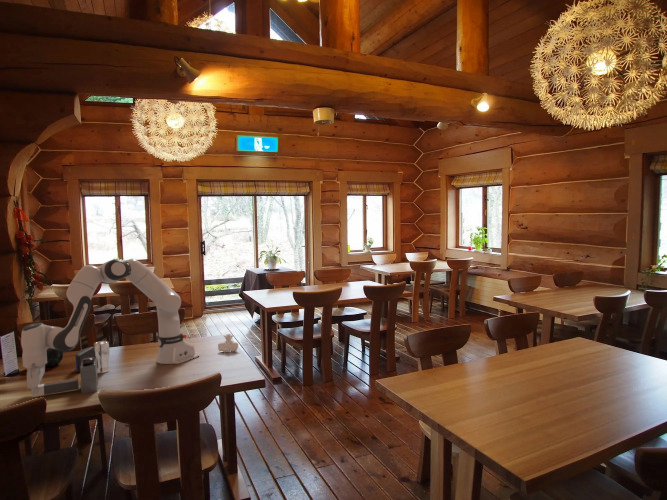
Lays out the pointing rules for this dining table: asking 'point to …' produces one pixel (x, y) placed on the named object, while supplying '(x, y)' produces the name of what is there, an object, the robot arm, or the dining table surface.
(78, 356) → the leaning round-cornered charcoal block
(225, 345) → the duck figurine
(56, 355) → the squash
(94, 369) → the block
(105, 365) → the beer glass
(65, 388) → the plug
